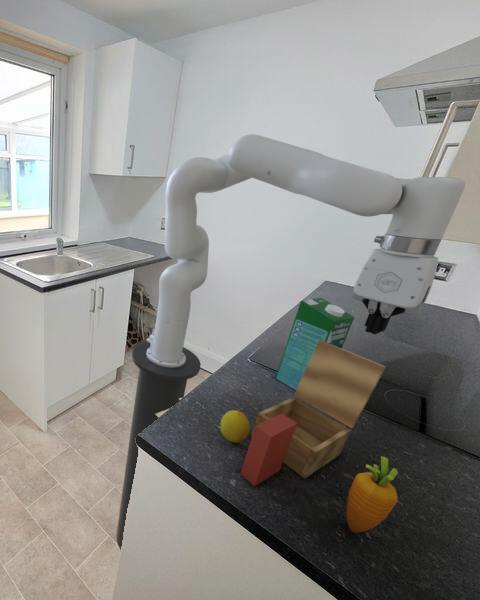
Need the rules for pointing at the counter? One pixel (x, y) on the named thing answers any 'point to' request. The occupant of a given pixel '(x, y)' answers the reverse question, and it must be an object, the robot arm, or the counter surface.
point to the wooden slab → (338, 382)
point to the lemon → (234, 426)
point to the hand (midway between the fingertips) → (372, 331)
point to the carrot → (371, 497)
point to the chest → (308, 436)
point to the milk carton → (311, 336)
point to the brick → (268, 448)
